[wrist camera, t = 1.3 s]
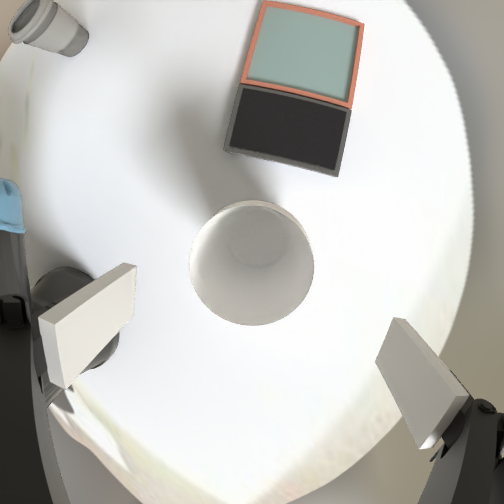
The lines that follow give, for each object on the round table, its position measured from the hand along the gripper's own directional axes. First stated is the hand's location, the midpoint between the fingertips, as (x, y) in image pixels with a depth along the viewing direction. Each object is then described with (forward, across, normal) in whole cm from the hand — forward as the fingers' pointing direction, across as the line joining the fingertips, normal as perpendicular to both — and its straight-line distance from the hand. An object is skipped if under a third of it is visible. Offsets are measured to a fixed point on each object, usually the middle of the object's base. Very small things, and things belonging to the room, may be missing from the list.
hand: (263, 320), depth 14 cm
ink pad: (+19, 0, +12) cm, 22 cm away
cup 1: (+19, -31, +23) cm, 43 cm away
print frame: (+19, 0, +22) cm, 29 cm away
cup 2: (+19, -1, 0) cm, 19 cm away
